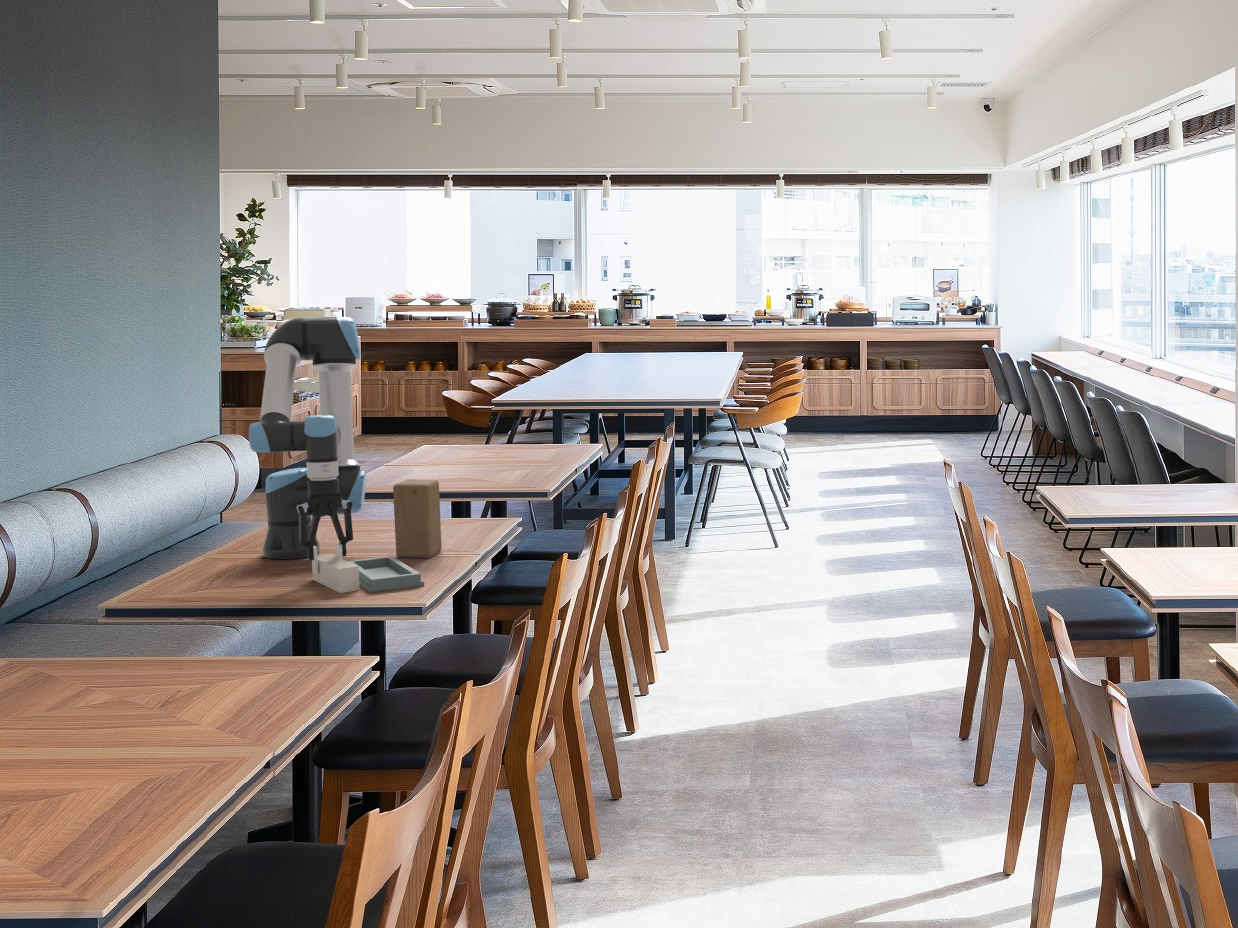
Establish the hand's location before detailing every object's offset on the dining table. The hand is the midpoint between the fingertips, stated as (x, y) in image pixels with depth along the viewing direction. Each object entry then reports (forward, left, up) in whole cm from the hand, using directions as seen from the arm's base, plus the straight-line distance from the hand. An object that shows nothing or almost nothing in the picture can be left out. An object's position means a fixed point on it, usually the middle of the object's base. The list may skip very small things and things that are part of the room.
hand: (327, 571), depth 308 cm
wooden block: (-18, +29, -3) cm, 35 cm away
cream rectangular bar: (+5, +1, -3) cm, 6 cm away
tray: (+6, +12, -3) cm, 14 cm away
